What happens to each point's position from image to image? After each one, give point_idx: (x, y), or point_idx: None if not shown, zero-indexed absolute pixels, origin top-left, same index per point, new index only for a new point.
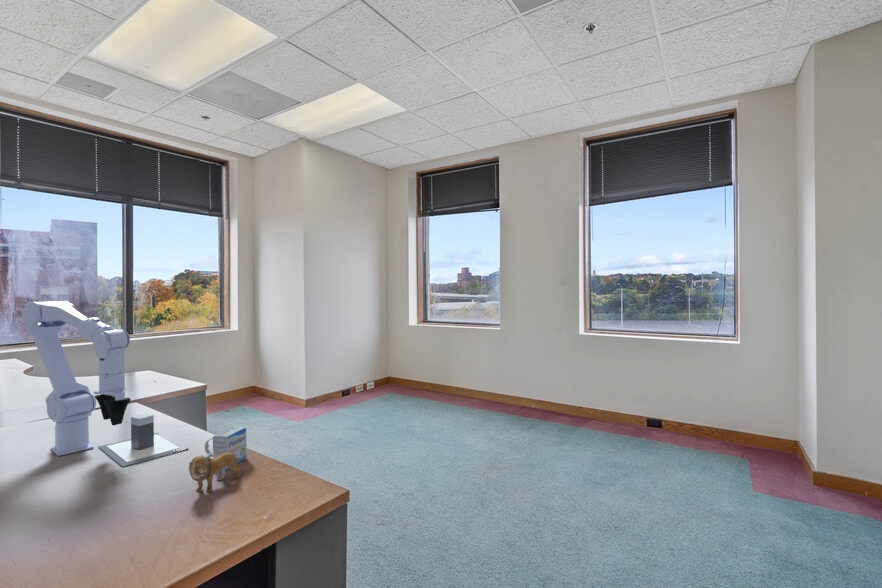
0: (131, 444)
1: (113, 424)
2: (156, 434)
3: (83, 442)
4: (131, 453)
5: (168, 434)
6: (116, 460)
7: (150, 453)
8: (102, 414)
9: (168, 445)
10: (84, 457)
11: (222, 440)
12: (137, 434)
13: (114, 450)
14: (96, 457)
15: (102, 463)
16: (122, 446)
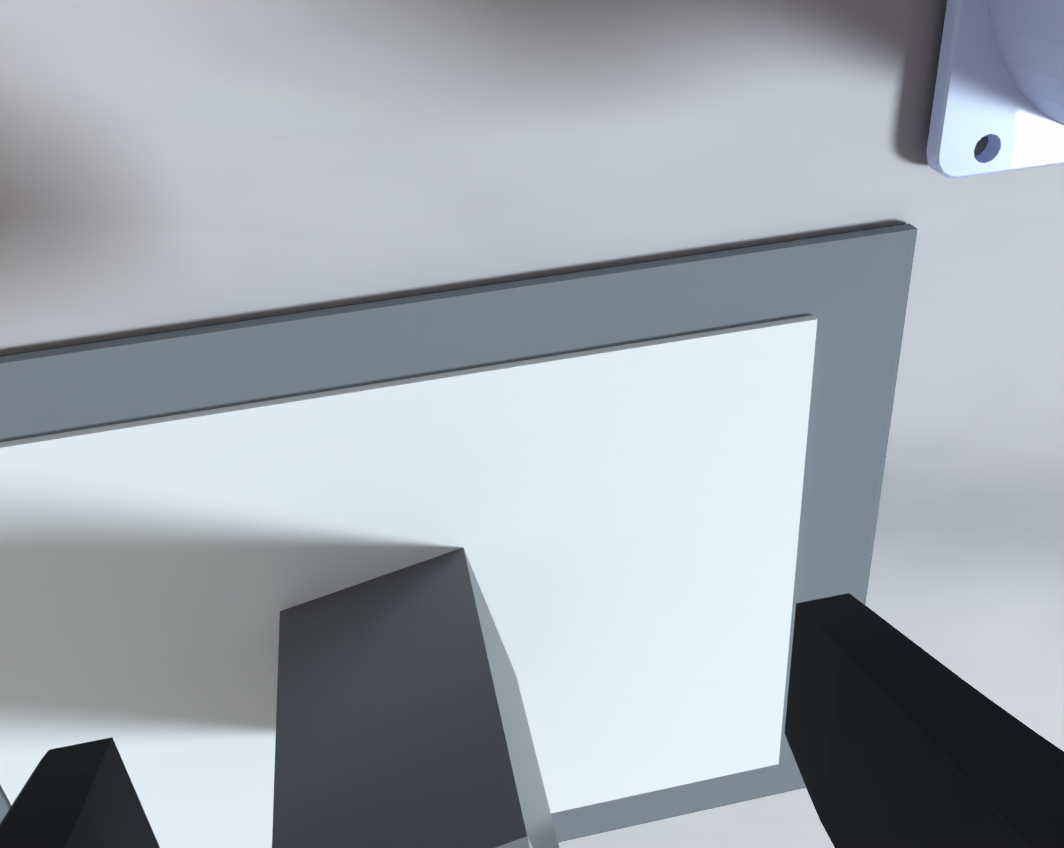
0: (461, 582)
1: (37, 781)
2: (772, 760)
3: (1058, 70)
4: (211, 538)
5: (720, 823)
6: (34, 369)
7: (52, 700)
8: (905, 678)
9: (246, 839)
10: (601, 12)
11: None
12: (313, 773)
13: (518, 384)
14: (461, 158)
15: (83, 199)
16: (620, 471)
